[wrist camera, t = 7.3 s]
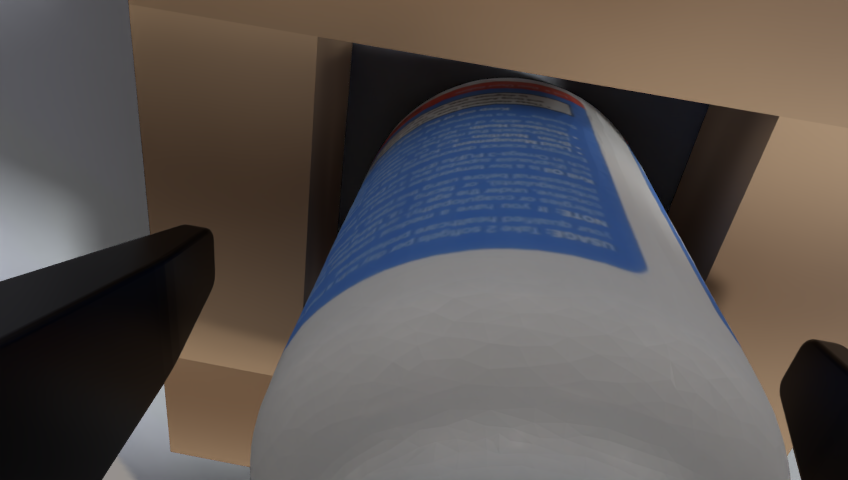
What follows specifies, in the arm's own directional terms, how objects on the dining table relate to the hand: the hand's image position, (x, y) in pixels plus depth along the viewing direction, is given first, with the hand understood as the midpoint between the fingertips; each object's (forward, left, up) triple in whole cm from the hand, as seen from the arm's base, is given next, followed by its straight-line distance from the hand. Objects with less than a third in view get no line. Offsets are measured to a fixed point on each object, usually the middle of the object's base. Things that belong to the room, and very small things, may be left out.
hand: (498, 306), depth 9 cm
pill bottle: (0, 0, -4) cm, 4 cm away
